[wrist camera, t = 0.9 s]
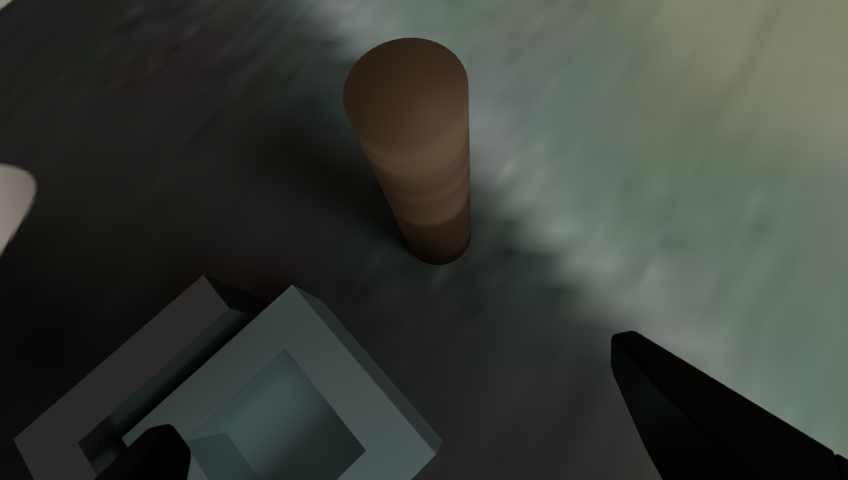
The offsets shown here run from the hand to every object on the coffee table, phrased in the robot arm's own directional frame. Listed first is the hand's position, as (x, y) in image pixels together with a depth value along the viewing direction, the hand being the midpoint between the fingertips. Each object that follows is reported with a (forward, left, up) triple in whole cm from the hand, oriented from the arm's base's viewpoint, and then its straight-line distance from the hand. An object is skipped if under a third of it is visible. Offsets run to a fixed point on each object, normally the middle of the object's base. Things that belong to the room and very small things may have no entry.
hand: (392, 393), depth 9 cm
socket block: (+3, +6, -15) cm, 16 cm away
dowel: (+6, -6, -14) cm, 16 cm away
